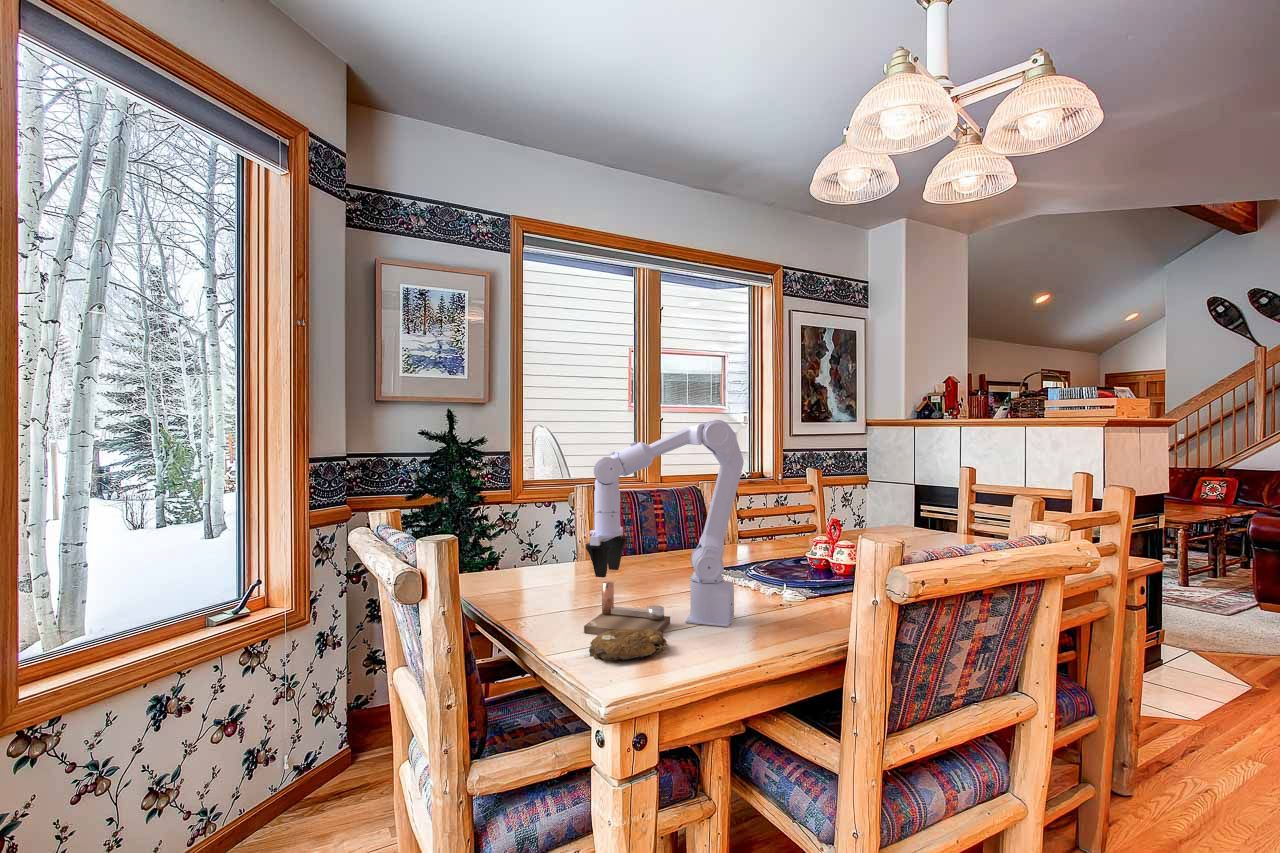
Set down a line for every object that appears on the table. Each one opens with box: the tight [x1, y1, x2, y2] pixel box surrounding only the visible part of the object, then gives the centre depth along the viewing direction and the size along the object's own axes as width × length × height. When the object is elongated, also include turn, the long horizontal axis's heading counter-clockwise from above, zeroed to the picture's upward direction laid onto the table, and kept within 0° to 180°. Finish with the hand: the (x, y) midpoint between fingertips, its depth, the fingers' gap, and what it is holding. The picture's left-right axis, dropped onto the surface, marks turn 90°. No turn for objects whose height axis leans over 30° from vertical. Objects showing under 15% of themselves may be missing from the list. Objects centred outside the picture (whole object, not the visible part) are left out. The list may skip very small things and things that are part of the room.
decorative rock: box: [588, 628, 668, 662], centre depth 117 cm, size 11×4×15 cm
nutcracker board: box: [583, 612, 671, 636], centre depth 131 cm, size 15×12×2 cm
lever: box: [601, 581, 665, 620], centre depth 134 cm, size 14×4×6 cm, turn 71°
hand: (607, 573), depth 136 cm, fingers open, 7 cm apart
